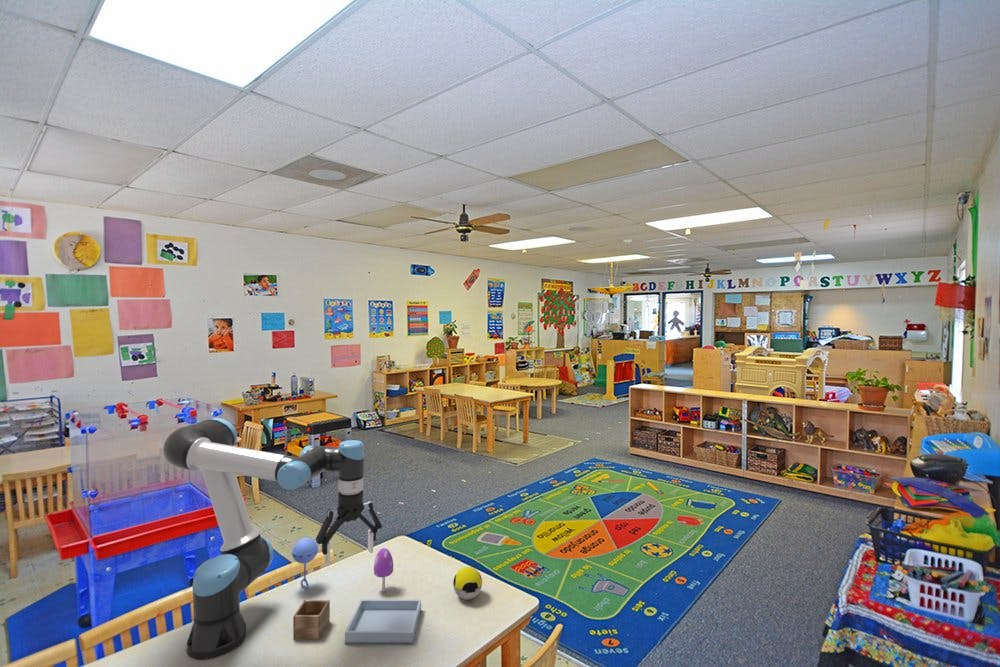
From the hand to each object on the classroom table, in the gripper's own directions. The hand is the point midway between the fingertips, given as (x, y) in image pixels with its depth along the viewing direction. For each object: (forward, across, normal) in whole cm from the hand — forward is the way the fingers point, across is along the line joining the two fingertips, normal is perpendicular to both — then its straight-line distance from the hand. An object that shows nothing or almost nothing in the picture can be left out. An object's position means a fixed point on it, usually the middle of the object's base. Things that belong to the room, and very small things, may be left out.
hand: (349, 557), depth 146 cm
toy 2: (+20, +38, -11) cm, 44 cm away
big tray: (+20, +9, -9) cm, 24 cm away
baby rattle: (+22, -6, +27) cm, 35 cm away
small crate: (+21, -10, +2) cm, 24 cm away
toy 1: (+21, +16, +9) cm, 28 cm away
